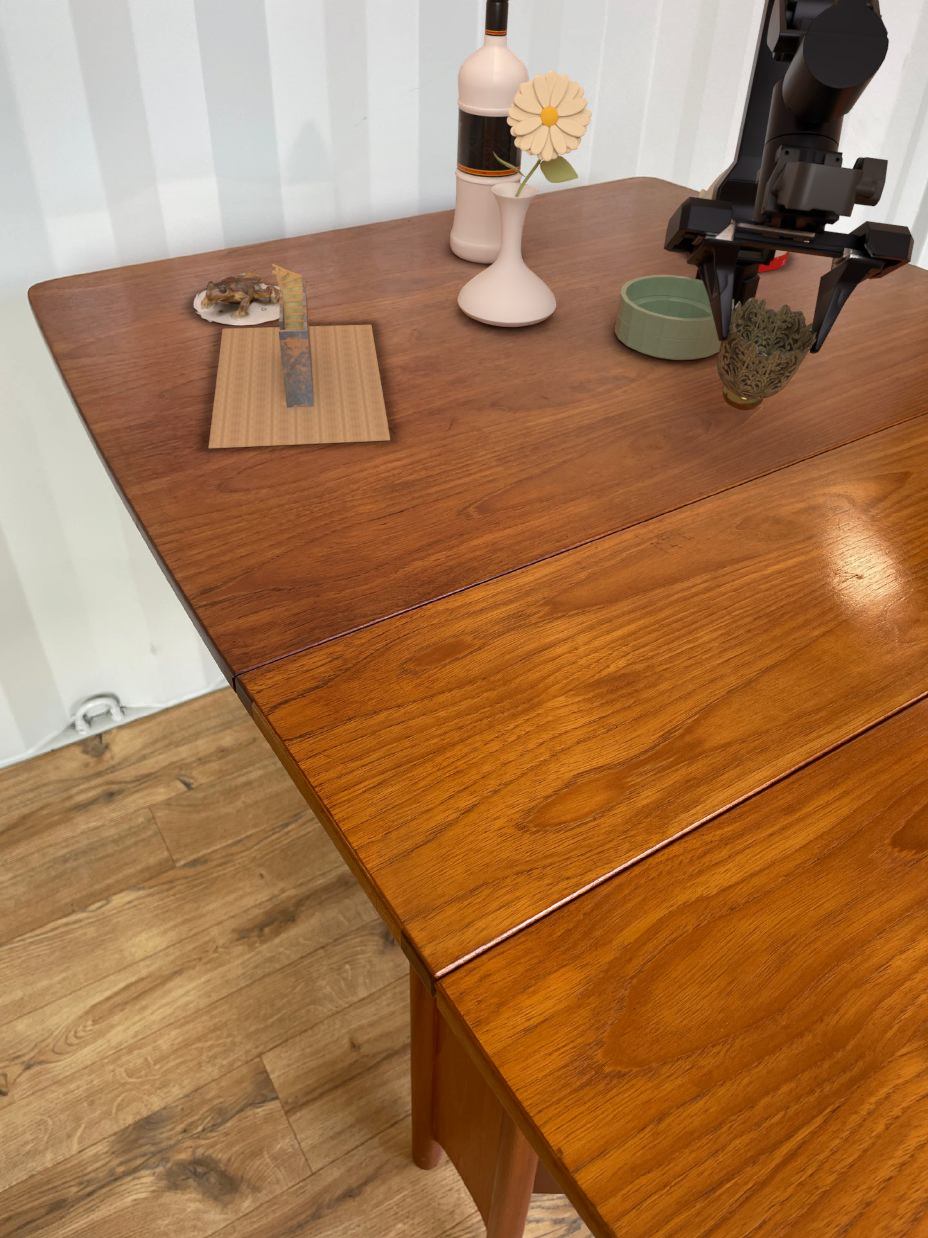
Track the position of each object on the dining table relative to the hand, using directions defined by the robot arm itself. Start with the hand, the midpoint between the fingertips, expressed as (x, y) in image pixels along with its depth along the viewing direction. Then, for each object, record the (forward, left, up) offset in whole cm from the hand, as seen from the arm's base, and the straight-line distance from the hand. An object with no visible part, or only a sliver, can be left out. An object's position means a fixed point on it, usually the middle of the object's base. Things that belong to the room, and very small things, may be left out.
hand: (768, 346), depth 74 cm
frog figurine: (-56, -18, -11) cm, 60 cm away
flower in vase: (-35, +5, -11) cm, 38 cm away
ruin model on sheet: (-37, -23, -11) cm, 45 cm away
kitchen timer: (-32, +44, -11) cm, 56 cm away
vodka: (-52, +16, -11) cm, 56 cm away
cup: (-2, +1, -6) cm, 7 cm away
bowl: (-20, +15, -11) cm, 28 cm away
